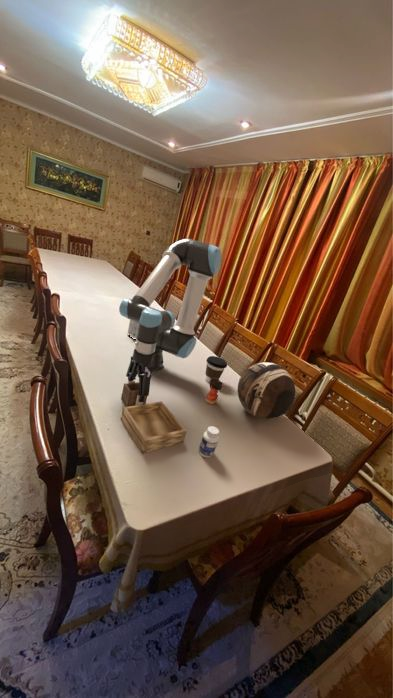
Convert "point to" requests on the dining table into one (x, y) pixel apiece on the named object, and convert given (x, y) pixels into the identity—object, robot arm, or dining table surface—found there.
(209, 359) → the coffee cup
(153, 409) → the oak crate
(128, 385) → the walnut crate
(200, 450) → the pill bottle
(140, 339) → the robot arm
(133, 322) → the planter
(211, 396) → the figurine
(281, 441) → the dining table surface
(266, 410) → the sphere
